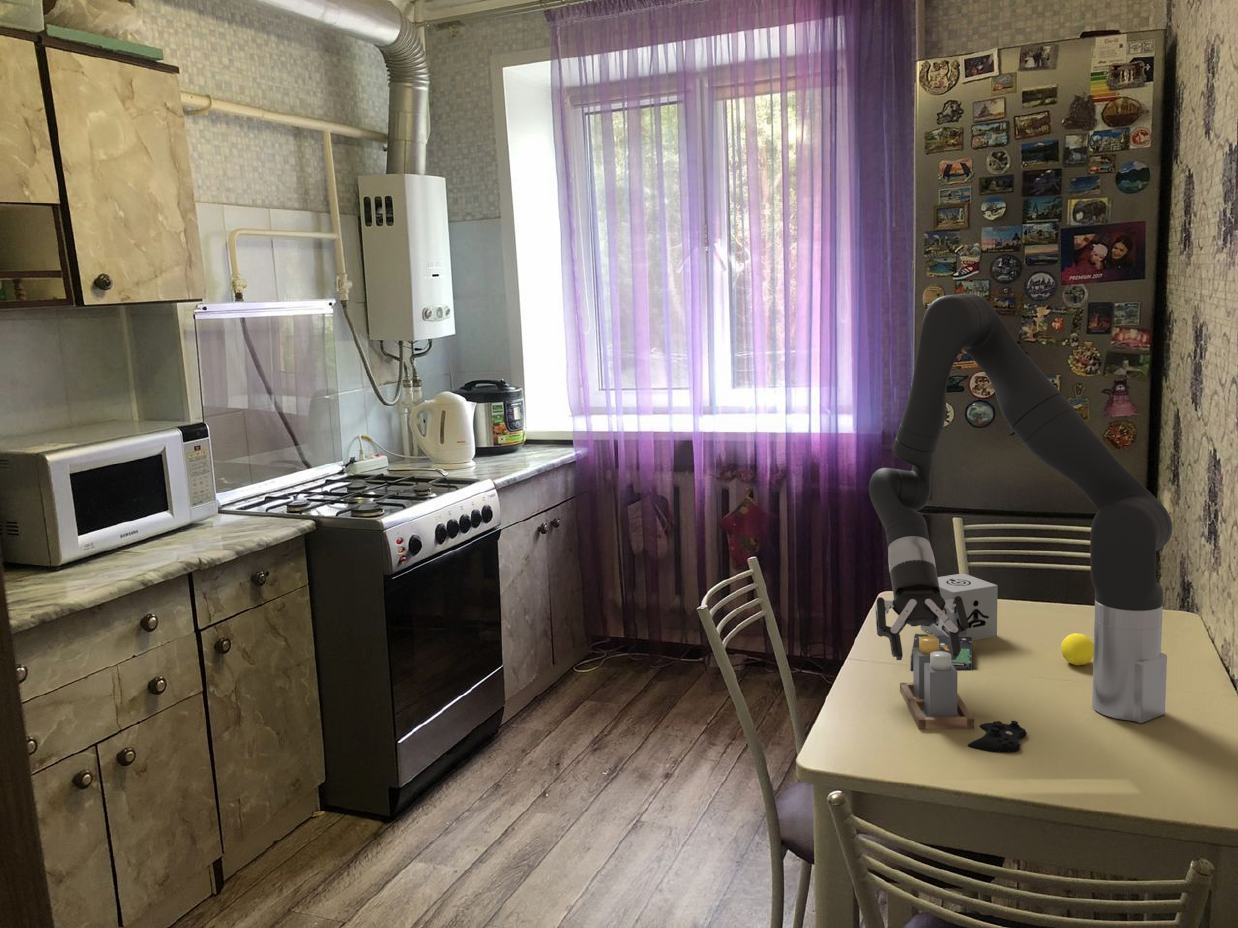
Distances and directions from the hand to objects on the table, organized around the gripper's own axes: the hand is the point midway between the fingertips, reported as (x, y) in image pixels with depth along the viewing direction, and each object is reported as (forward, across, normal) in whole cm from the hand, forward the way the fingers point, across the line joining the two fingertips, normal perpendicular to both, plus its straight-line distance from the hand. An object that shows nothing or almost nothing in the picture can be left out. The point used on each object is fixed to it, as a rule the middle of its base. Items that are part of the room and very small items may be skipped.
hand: (927, 657), depth 161 cm
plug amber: (+6, 0, +3) cm, 7 cm away
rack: (+9, 0, +2) cm, 9 cm away
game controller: (+17, +6, -6) cm, 19 cm away
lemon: (-7, +29, +18) cm, 35 cm away
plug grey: (+11, 0, -2) cm, 11 cm away
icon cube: (-19, +13, +30) cm, 38 cm away
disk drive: (-8, +7, +20) cm, 23 cm away
